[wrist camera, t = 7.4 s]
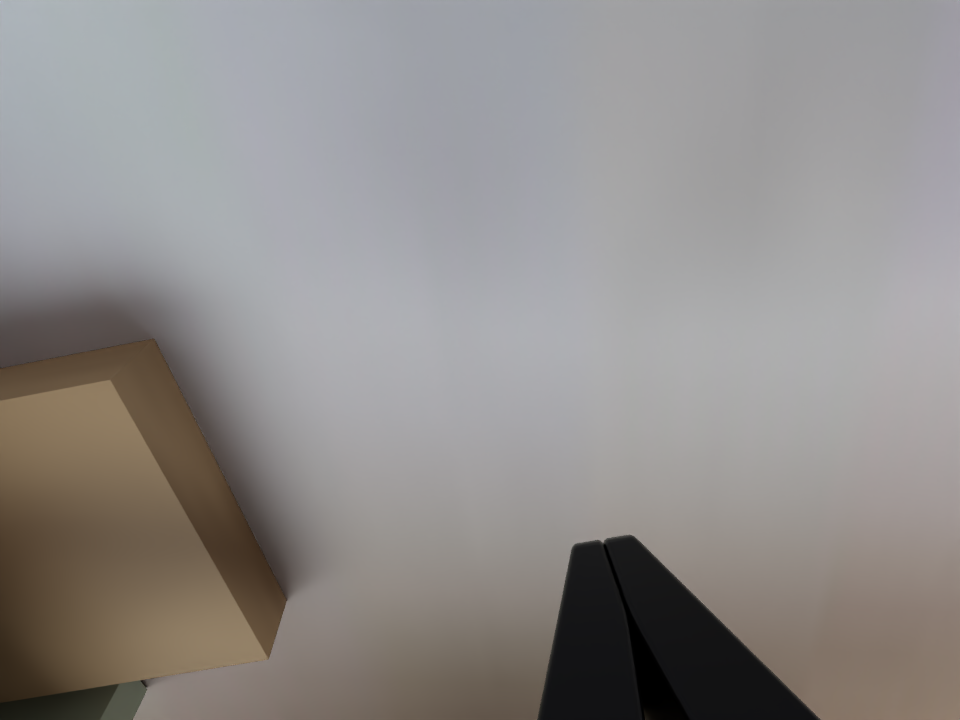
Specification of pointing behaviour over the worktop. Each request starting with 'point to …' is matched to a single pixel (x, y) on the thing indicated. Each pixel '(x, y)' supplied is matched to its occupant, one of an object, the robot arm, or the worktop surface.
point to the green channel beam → (79, 704)
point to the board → (118, 532)
